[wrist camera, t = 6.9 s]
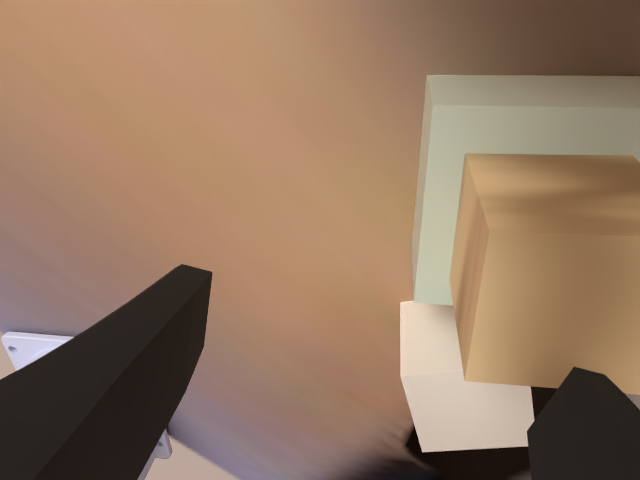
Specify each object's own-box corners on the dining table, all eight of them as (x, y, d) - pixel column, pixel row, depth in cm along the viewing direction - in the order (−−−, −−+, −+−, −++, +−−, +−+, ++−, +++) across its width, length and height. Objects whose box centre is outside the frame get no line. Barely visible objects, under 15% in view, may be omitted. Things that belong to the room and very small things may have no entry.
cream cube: (513, 362, 23) (536, 445, 19) (418, 371, 24) (422, 451, 20) (504, 286, 21) (528, 363, 17) (400, 301, 22) (400, 376, 18)
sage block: (586, 252, 19) (626, 317, 16) (411, 243, 20) (413, 302, 17) (643, 74, 16) (708, 109, 12) (426, 72, 17) (433, 104, 13)
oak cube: (632, 155, 13) (726, 238, 9) (591, 286, 16) (653, 395, 12) (464, 153, 14) (489, 230, 10) (449, 279, 16) (464, 381, 12)
